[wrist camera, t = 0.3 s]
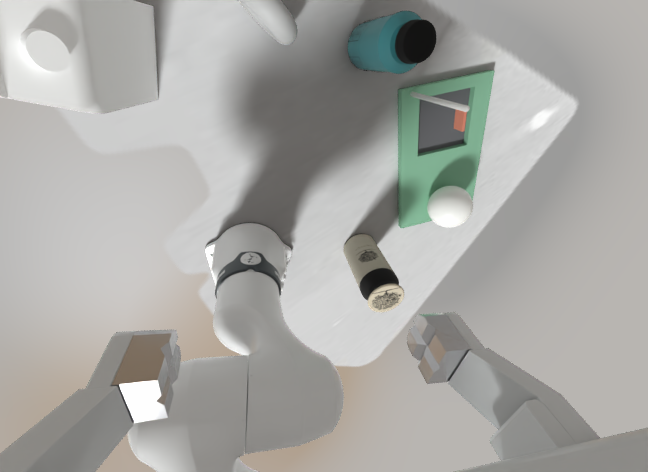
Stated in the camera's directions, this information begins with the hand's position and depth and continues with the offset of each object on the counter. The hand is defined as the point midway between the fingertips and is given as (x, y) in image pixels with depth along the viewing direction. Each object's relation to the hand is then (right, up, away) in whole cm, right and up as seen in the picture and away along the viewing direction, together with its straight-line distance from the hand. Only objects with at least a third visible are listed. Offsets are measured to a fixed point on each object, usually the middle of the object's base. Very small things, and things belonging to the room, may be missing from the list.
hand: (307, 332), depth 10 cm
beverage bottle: (+7, +35, +37) cm, 51 cm away
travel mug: (+9, +1, +60) cm, 61 cm away
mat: (+25, +20, +51) cm, 60 cm away
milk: (-30, +31, +30) cm, 53 cm away
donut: (-8, +36, +32) cm, 49 cm away
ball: (+28, +10, +51) cm, 59 cm away
